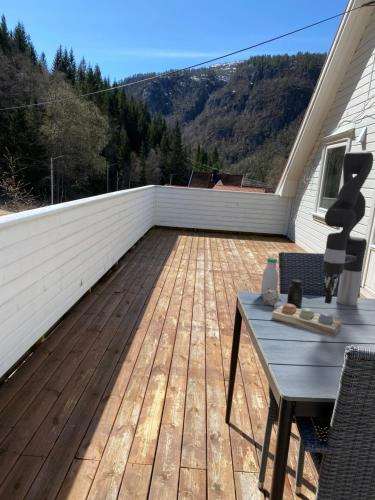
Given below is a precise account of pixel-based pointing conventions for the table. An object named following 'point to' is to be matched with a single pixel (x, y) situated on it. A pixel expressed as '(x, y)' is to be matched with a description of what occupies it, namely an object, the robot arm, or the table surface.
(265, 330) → the table surface
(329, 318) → the slate button
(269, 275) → the milk bottle
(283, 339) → the table surface
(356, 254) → the robot arm
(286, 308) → the terracotta button
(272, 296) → the game die
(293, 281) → the supplement bottle
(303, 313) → the sage button
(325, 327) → the button panel
